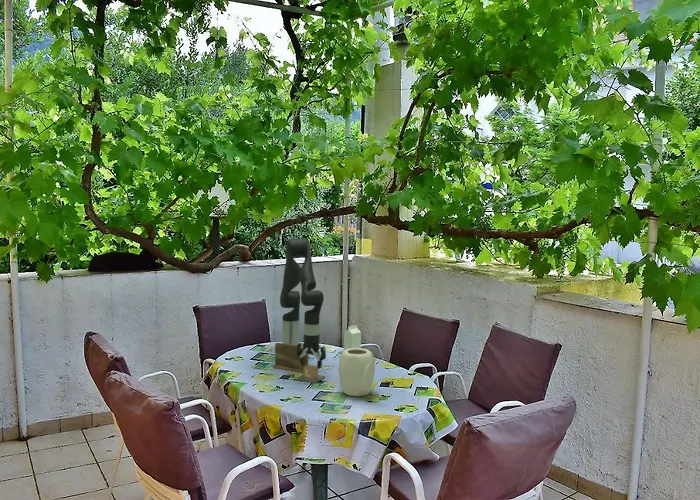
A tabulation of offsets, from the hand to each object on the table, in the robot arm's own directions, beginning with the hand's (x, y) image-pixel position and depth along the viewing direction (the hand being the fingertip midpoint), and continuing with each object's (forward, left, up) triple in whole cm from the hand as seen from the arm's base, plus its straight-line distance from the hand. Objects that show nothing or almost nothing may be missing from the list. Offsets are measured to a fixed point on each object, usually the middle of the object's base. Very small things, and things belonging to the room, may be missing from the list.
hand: (311, 366), depth 279 cm
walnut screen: (-9, -16, -6) cm, 19 cm away
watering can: (+8, +28, -6) cm, 30 cm away
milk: (-24, +10, -6) cm, 27 cm away
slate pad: (0, 0, -6) cm, 6 cm away
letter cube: (0, 0, -5) cm, 5 cm away
